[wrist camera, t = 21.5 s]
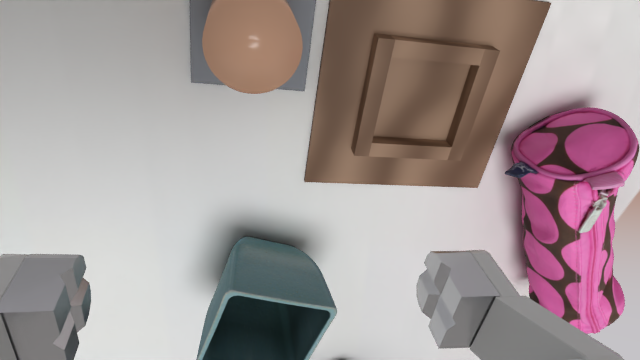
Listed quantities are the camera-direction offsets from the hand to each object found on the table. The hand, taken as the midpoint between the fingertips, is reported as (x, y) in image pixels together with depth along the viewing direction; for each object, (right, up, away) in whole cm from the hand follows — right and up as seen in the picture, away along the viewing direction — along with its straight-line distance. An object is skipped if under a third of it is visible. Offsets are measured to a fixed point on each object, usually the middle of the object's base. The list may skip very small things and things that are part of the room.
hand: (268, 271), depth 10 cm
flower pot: (-4, -5, +30) cm, 31 cm away
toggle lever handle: (-3, +15, +17) cm, 23 cm away
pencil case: (+23, 0, +32) cm, 40 cm away
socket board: (+9, +9, +23) cm, 27 cm away
